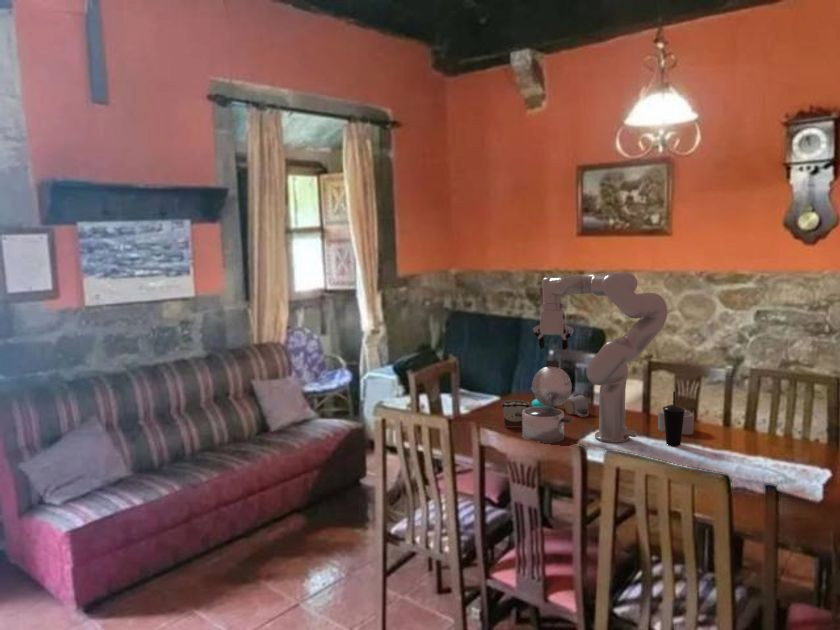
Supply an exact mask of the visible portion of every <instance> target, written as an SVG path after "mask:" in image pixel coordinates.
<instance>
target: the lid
mask: <svg viewBox="0 0 840 630" xmlns="http://www.w3.org/2000/svg"><path fill="white" fill-rule="evenodd" d="M545 361H546V362H545V363H546V364H545V366H544V367H542V368H541V369H539V370H538V371H537V372H536V373H535V375H534V377H533V379H532V383H531V391H532V390H533V391H532V394H533V395H534V397H535V399H537V400H538V401H539V402H540V403H541V404H543V405H545V406H549V407H553V408H556V407H559V406H561V405H563V404H565V402H566V401H567V399H569V398H570V397H571V394H572V388H573V387H572V382H571V381H572V380H571V378H570V376H569V374H568V373H567V372H566V371H565V370H563V369H562V368H560V360H559V361H557V360H545Z"/></svg>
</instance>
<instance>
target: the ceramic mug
mask: <svg viewBox="0 0 840 630" xmlns="http://www.w3.org/2000/svg"><path fill="white" fill-rule="evenodd" d="M563 404H564V410H565V412H566V413H567V414H568V415H574V416H575V415H576V416H578V417H581V418H586V417H588V416H589V413H590V410H589V402H588V399H587V397H585V396H584V395H577V396H573V397H569V398H568V399H567V401H566V402H565V403H563Z"/></svg>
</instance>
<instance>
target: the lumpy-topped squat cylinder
mask: <svg viewBox="0 0 840 630" xmlns="http://www.w3.org/2000/svg"><path fill="white" fill-rule="evenodd" d="M694 418H695V417H694V413H693V412H690V411H689V410H688V409H686V408H685V411H684V418H683V427H682V435H686V436H687V435H692V434H693V435H694V420H695V419H694ZM657 430H659V431H661V432H665V420H664V410H663V408H662V409H660V410H658V413H657ZM682 435H681V436H682Z"/></svg>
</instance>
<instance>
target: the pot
mask: <svg viewBox="0 0 840 630" xmlns="http://www.w3.org/2000/svg"><path fill="white" fill-rule="evenodd" d="M515 416H517V417H522V427H521V429H522V431H521V432H522V433H521V434H522V435H521V437H523V438H524V440H525V439H527V440H533V441H540V442H543V443H542V444H555V443H559V442H562V441H563V440H564V439H565V424H566V423H567V424H570V423H571V422H572V421H573V418H572V417H570V416H569V417H568V416H565V411H564V410H563V409H560V408H558V407H557V408H556V407H533V406H531V408H530V407H529V408H526V409H524V410H523V411H522V412H516V413H515ZM523 438H522V439H523ZM527 440H526V441H527Z"/></svg>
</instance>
